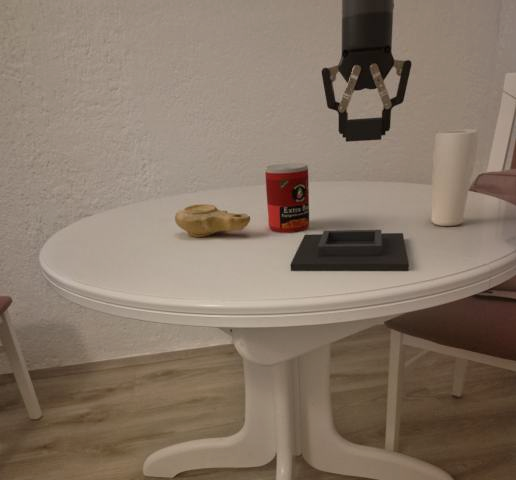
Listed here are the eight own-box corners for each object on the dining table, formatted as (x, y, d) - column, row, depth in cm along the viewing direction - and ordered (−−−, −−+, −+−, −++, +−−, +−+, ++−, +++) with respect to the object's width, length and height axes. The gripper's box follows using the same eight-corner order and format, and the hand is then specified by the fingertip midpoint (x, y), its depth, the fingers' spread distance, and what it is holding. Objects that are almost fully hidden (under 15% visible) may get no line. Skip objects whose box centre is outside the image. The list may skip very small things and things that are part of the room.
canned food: (283, 235, 86) (280, 170, 81) (260, 227, 92) (256, 167, 87) (318, 227, 89) (317, 164, 84) (294, 220, 95) (292, 162, 90)
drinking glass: (441, 217, 90) (450, 129, 83) (475, 222, 85) (487, 129, 78) (418, 224, 86) (425, 133, 79) (451, 230, 81) (462, 133, 74)
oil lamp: (251, 238, 85) (249, 210, 83) (171, 244, 86) (167, 216, 83) (251, 225, 95) (249, 199, 92) (179, 230, 95) (175, 204, 93)
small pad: (381, 136, 81) (382, 117, 80) (381, 139, 77) (382, 119, 75) (348, 138, 83) (348, 119, 81) (345, 141, 78) (345, 121, 77)
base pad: (402, 239, 78) (403, 223, 77) (408, 270, 65) (409, 252, 63) (304, 240, 82) (304, 225, 81) (290, 270, 68) (290, 253, 67)
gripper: (316, 16, 70) (317, 140, 78) (419, 3, 67) (410, 135, 75) (321, 22, 77) (323, 137, 84) (416, 11, 73) (408, 131, 81)
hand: (364, 135), depth 79 cm, fingers closed on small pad, 5 cm apart
